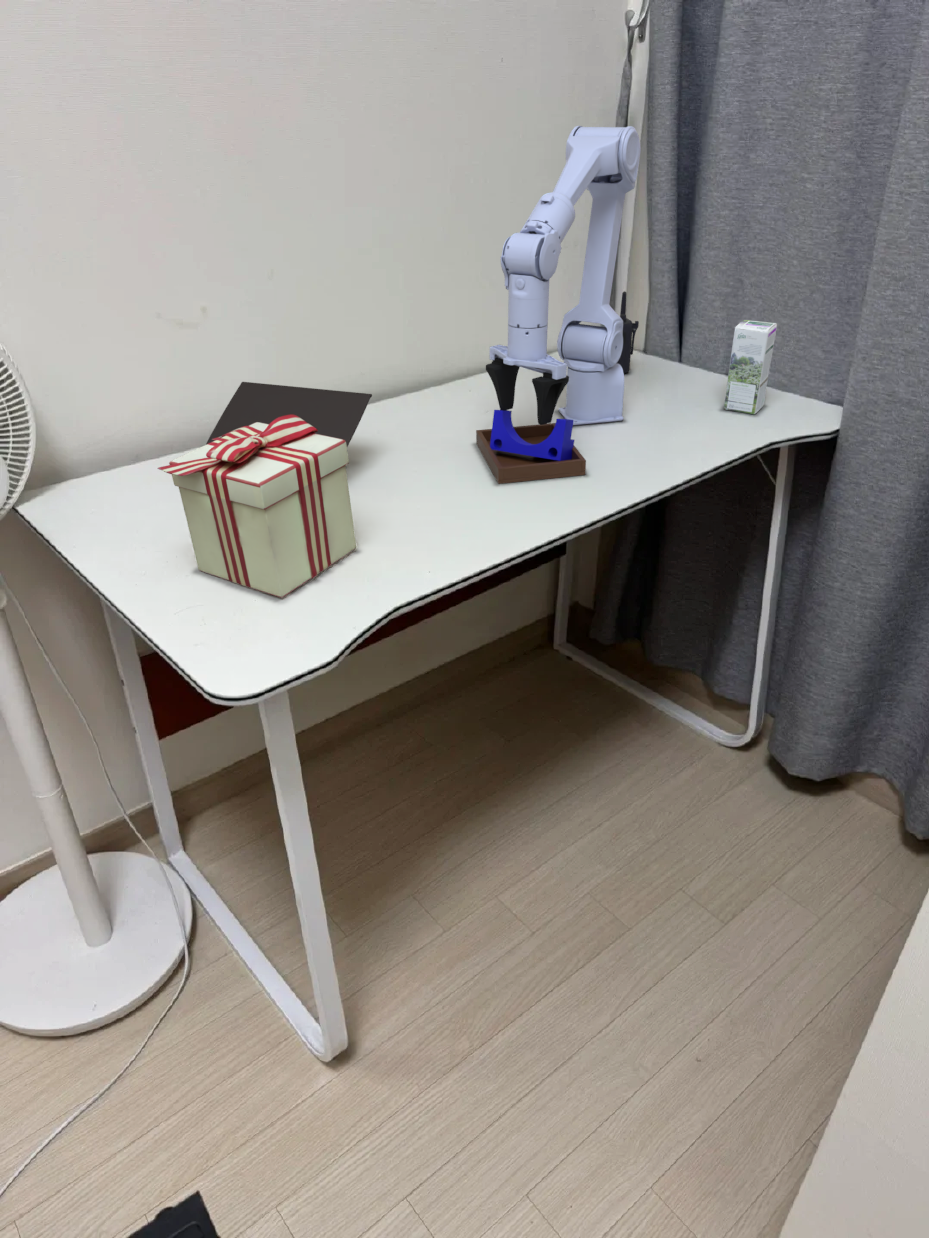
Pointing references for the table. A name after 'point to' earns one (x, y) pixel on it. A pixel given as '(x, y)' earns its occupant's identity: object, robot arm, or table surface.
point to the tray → (528, 458)
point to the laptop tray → (294, 409)
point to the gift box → (267, 504)
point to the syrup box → (749, 366)
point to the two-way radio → (627, 337)
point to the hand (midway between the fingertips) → (525, 416)
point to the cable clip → (509, 441)
